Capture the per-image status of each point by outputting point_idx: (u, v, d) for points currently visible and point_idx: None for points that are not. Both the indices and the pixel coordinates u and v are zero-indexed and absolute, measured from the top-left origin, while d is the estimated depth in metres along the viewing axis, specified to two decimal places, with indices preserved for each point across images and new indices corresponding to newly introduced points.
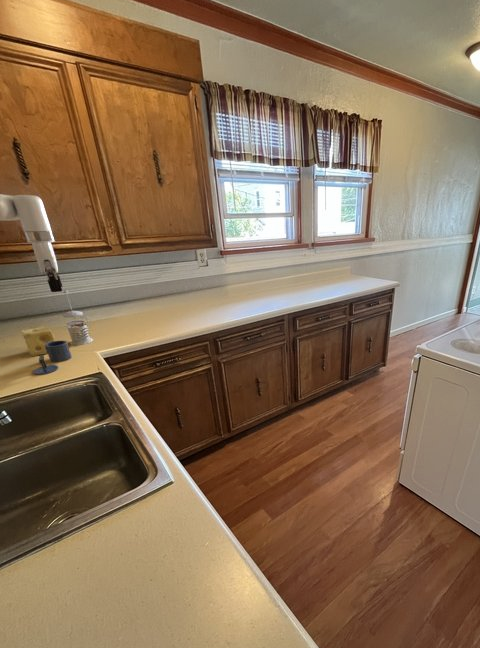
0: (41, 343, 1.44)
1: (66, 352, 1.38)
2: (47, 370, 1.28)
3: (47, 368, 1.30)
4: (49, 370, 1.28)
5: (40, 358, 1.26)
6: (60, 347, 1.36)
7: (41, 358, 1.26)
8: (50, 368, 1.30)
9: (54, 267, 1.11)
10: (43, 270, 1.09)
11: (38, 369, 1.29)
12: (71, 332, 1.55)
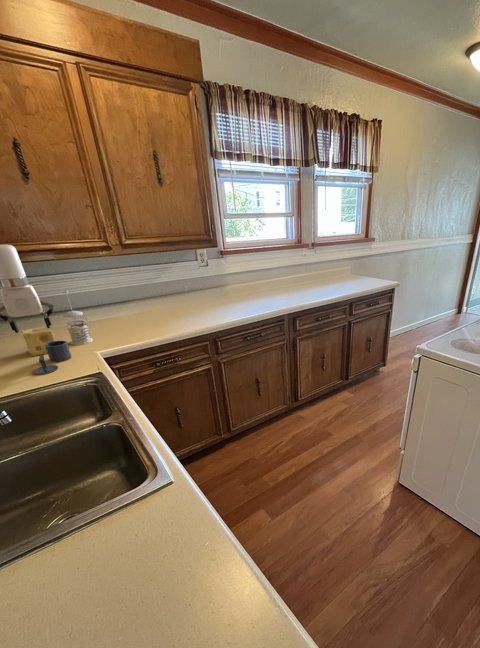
0: (41, 343, 1.44)
1: (66, 352, 1.38)
2: (47, 370, 1.28)
3: (47, 368, 1.30)
4: (49, 370, 1.28)
5: (40, 358, 1.26)
6: (60, 347, 1.36)
7: (41, 358, 1.26)
8: (50, 368, 1.30)
9: (41, 306, 1.22)
10: (42, 309, 1.20)
11: (38, 369, 1.29)
12: (71, 332, 1.55)
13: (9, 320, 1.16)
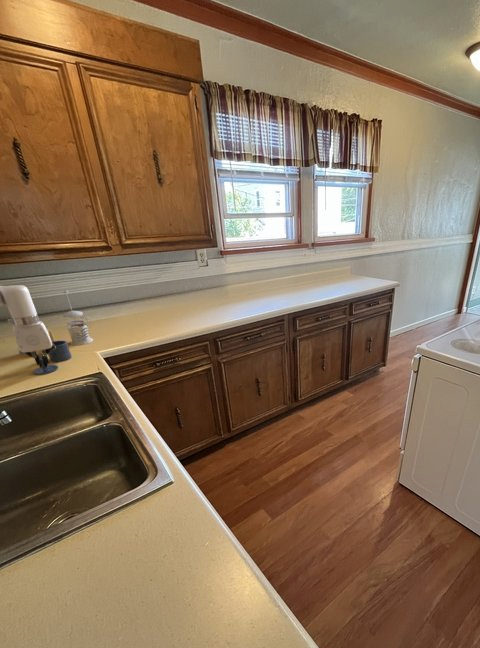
0: None
1: (66, 352, 1.38)
2: (47, 370, 1.28)
3: (47, 368, 1.30)
4: (49, 370, 1.28)
5: (40, 358, 1.26)
6: (60, 347, 1.36)
7: (41, 358, 1.26)
8: (50, 368, 1.30)
9: None
10: (51, 344, 1.26)
11: (38, 369, 1.29)
12: (71, 332, 1.55)
13: (34, 356, 1.25)
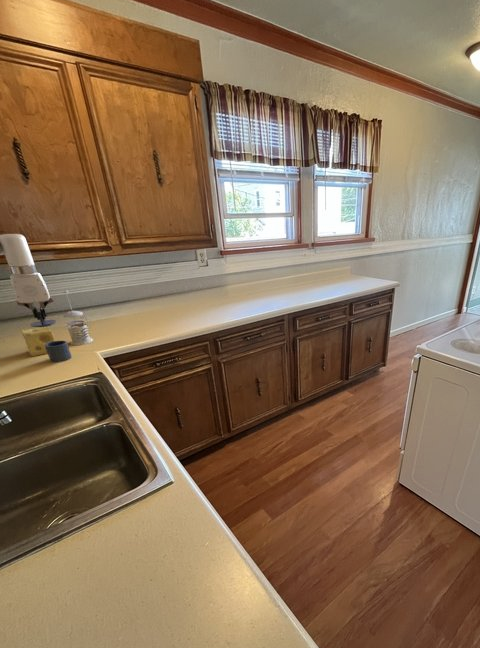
0: (41, 343, 1.44)
1: (66, 352, 1.38)
2: (45, 323, 1.29)
3: (45, 322, 1.30)
4: (47, 323, 1.29)
5: (38, 310, 1.27)
6: (60, 347, 1.36)
7: (39, 310, 1.27)
8: (48, 322, 1.30)
9: None
10: (49, 296, 1.26)
11: (36, 322, 1.30)
12: (71, 332, 1.55)
13: (32, 308, 1.25)
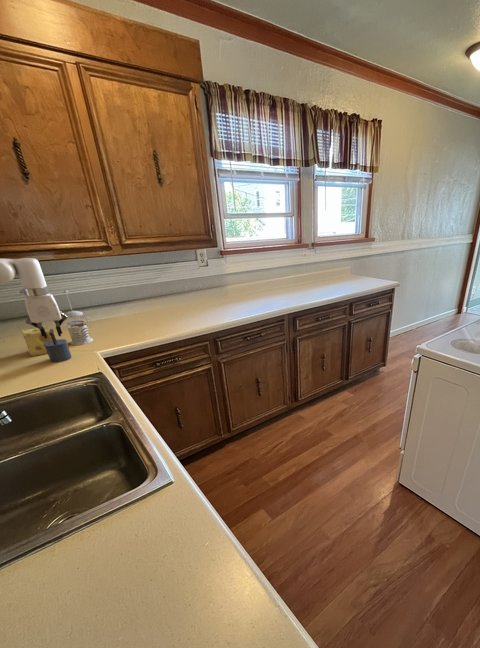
0: (41, 343, 1.44)
1: (66, 352, 1.38)
2: (57, 343, 1.36)
3: (56, 342, 1.37)
4: (59, 343, 1.36)
5: (50, 331, 1.34)
6: (60, 347, 1.36)
7: (51, 331, 1.34)
8: (59, 341, 1.37)
9: None
10: (60, 316, 1.33)
11: (48, 342, 1.37)
12: (71, 332, 1.55)
13: (40, 327, 1.31)
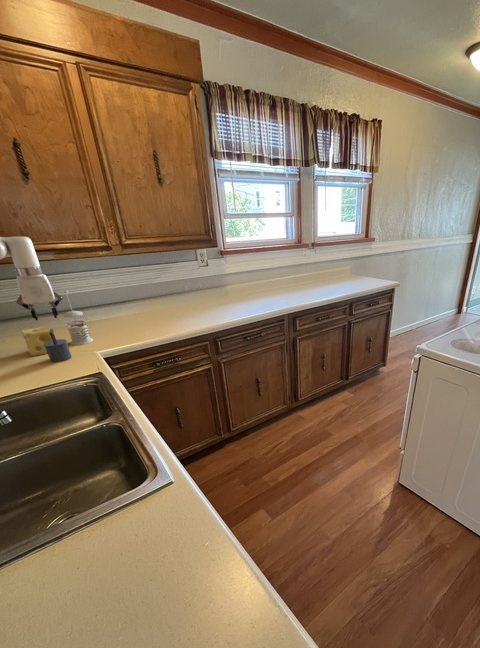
0: (41, 343, 1.44)
1: (66, 352, 1.38)
2: (57, 343, 1.36)
3: (56, 342, 1.37)
4: (59, 343, 1.36)
5: (50, 331, 1.34)
6: (60, 347, 1.36)
7: (51, 331, 1.34)
8: (59, 341, 1.37)
9: None
10: (54, 297, 1.30)
11: (48, 342, 1.37)
12: (71, 332, 1.55)
13: (30, 308, 1.27)
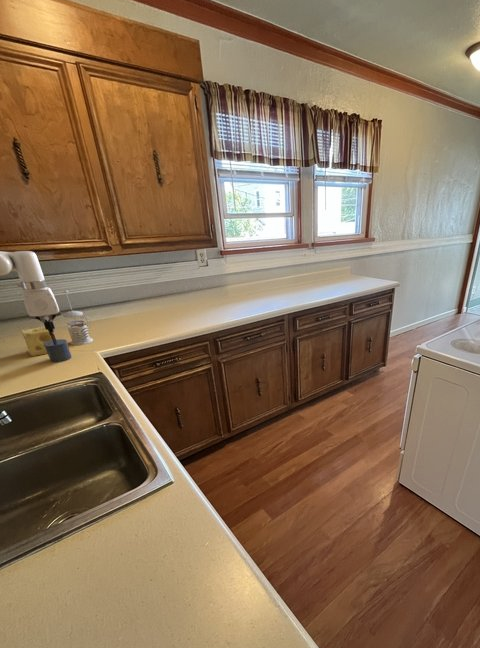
0: (41, 343, 1.44)
1: (66, 352, 1.38)
2: (57, 343, 1.36)
3: (56, 342, 1.37)
4: (59, 343, 1.36)
5: None
6: (60, 347, 1.36)
7: (51, 331, 1.34)
8: (59, 341, 1.37)
9: None
10: (58, 309, 1.32)
11: (48, 342, 1.37)
12: (71, 332, 1.55)
13: (43, 320, 1.31)
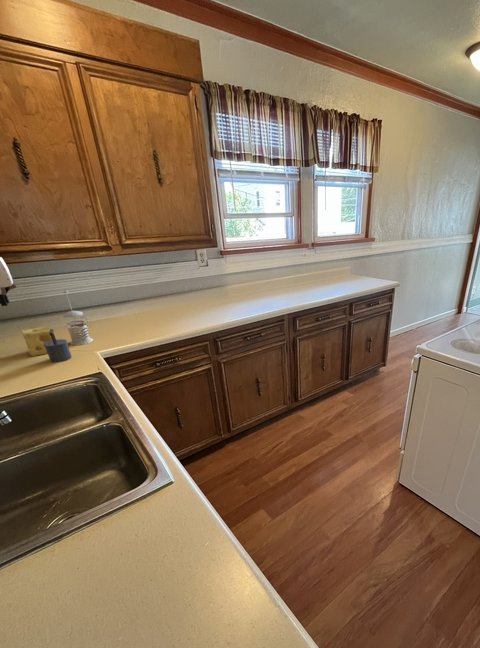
0: (41, 343, 1.44)
1: (66, 352, 1.38)
2: (57, 343, 1.36)
3: (56, 342, 1.37)
4: (59, 343, 1.36)
5: (50, 331, 1.34)
6: (60, 347, 1.36)
7: (51, 331, 1.34)
8: (59, 341, 1.37)
9: None
10: (12, 282, 1.21)
11: (48, 342, 1.37)
12: (71, 332, 1.55)
13: None
